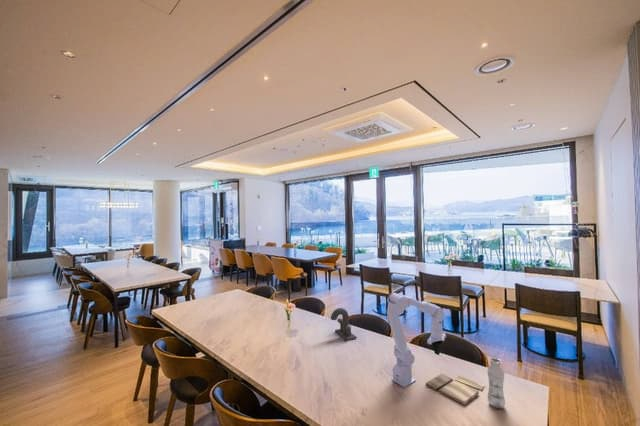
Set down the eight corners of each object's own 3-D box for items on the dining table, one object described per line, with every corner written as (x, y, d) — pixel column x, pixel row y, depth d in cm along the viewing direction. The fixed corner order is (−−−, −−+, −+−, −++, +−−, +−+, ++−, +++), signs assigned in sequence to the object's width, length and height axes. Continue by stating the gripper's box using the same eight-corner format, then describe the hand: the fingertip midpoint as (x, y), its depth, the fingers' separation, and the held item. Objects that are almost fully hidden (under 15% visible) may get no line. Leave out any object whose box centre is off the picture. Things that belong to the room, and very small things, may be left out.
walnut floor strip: (436, 391, 131) (436, 388, 131) (425, 385, 136) (425, 382, 136) (452, 381, 139) (452, 378, 139) (441, 375, 144) (441, 373, 144)
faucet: (325, 333, 198) (325, 305, 199) (344, 329, 205) (344, 302, 205) (337, 343, 182) (337, 313, 182) (357, 339, 188) (357, 310, 189)
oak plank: (464, 404, 120) (464, 401, 120) (439, 391, 130) (439, 389, 130) (478, 393, 128) (478, 390, 128) (453, 382, 138) (453, 379, 138)
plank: (482, 392, 131) (481, 389, 131) (455, 382, 139) (455, 379, 139) (484, 387, 134) (484, 384, 134) (458, 377, 143) (458, 375, 143)
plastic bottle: (498, 400, 124) (497, 356, 124) (509, 410, 117) (507, 363, 117) (484, 400, 124) (483, 356, 124) (494, 411, 117) (493, 364, 117)
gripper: (435, 334, 140) (436, 361, 139) (451, 327, 148) (451, 352, 148) (423, 329, 145) (424, 355, 145) (439, 323, 154) (439, 348, 153)
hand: (437, 353), depth 147 cm, fingers closed
